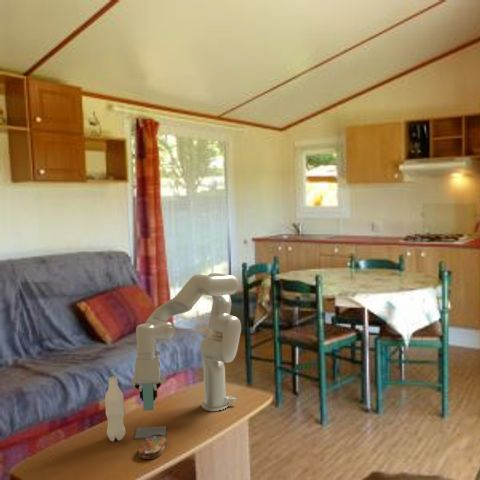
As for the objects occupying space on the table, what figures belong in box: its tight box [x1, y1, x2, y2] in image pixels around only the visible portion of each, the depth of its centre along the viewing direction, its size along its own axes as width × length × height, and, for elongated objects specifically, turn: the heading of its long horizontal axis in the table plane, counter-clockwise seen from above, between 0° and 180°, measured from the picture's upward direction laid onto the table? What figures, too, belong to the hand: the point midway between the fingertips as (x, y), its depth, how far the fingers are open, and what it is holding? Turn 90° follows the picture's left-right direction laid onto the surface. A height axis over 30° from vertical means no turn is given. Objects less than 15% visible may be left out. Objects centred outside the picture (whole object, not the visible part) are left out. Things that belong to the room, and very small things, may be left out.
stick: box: [142, 383, 155, 411], centre depth 212 cm, size 4×4×14 cm
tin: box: [138, 434, 168, 460], centre depth 200 cm, size 15×3×8 cm
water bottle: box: [104, 375, 126, 442], centre depth 209 cm, size 7×7×25 cm
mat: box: [134, 425, 167, 440], centre depth 214 cm, size 12×9×1 cm
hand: (148, 399), depth 212 cm, fingers closed on stick, 4 cm apart
